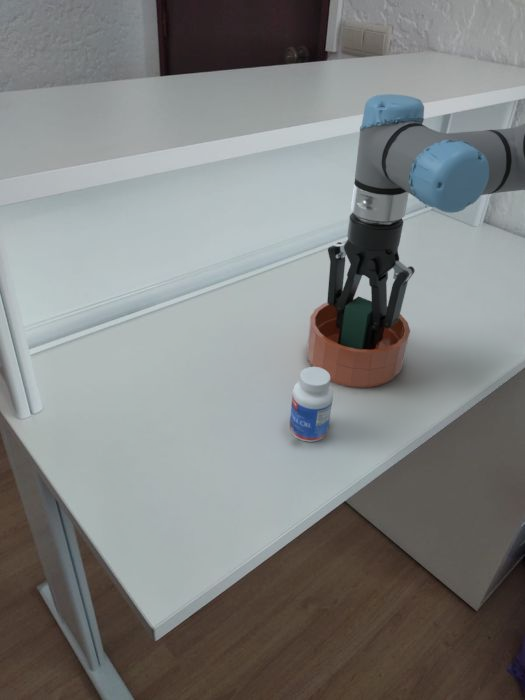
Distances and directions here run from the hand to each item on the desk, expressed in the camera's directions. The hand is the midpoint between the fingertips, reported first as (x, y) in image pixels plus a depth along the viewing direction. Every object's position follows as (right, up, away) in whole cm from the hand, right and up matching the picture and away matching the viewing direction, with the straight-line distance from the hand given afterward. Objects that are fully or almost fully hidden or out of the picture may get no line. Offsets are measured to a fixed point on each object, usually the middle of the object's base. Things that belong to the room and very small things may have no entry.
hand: (355, 351), depth 94 cm
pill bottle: (-9, -11, -13) cm, 19 cm away
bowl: (0, -1, +1) cm, 2 cm away
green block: (0, 0, 0) cm, 0 cm away
